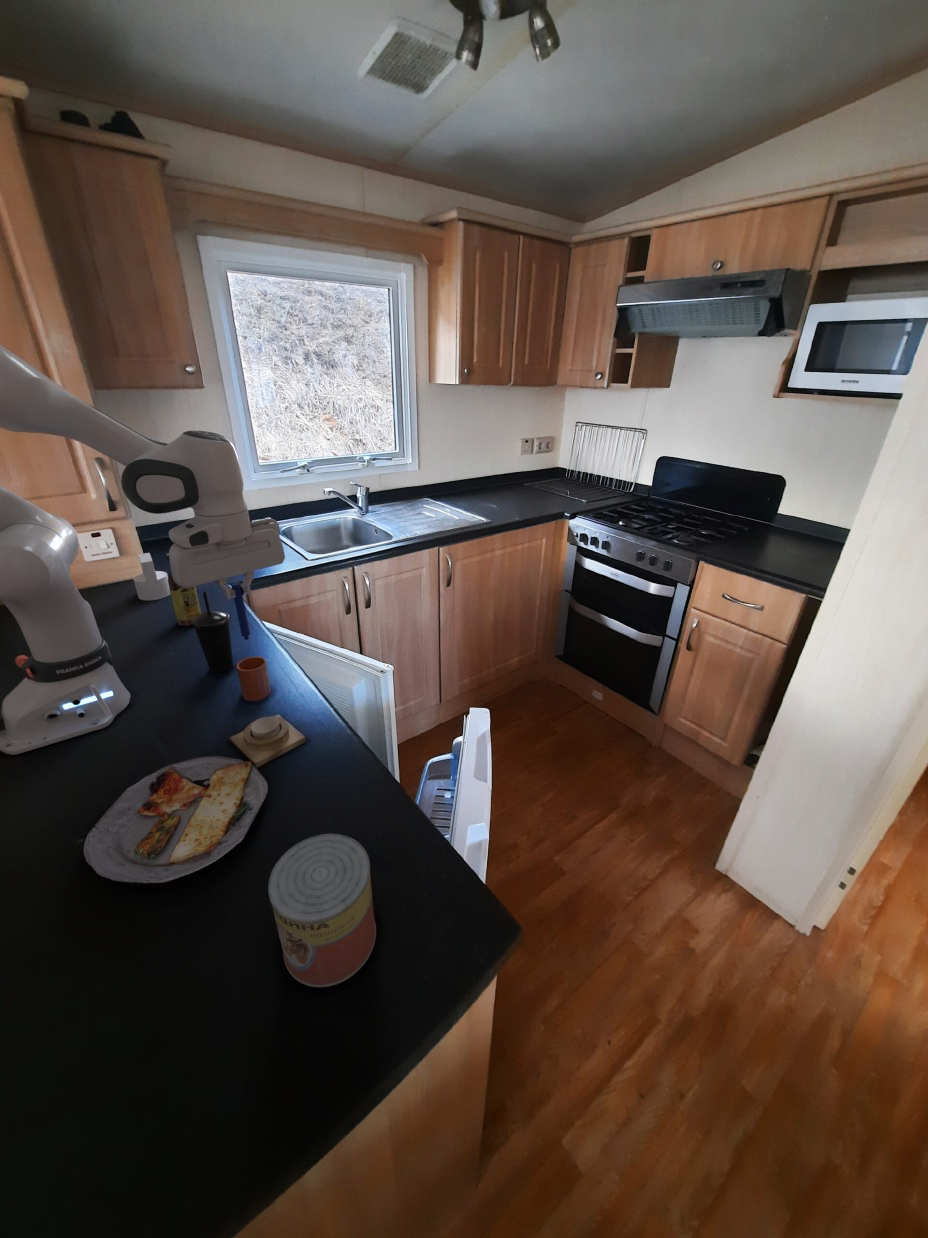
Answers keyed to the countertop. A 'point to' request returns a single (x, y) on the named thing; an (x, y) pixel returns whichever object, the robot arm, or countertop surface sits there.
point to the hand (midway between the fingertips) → (238, 595)
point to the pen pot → (254, 678)
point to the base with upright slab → (151, 580)
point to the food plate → (176, 820)
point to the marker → (241, 610)
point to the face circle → (265, 728)
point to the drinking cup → (214, 639)
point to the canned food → (324, 909)
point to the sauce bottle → (183, 601)
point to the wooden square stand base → (267, 743)
